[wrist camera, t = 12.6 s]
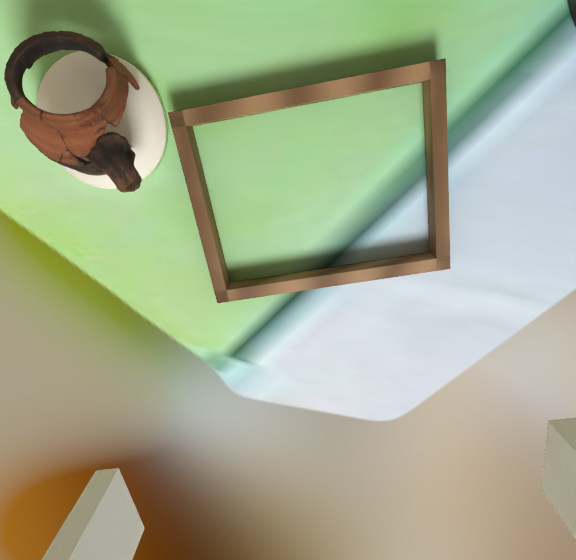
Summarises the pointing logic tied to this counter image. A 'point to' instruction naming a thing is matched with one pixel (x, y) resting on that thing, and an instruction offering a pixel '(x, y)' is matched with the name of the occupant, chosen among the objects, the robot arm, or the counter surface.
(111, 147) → the brown hollow round piece
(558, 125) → the counter surface
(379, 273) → the walnut frame
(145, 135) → the white dome
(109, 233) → the counter surface
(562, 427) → the robot arm
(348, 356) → the counter surface
